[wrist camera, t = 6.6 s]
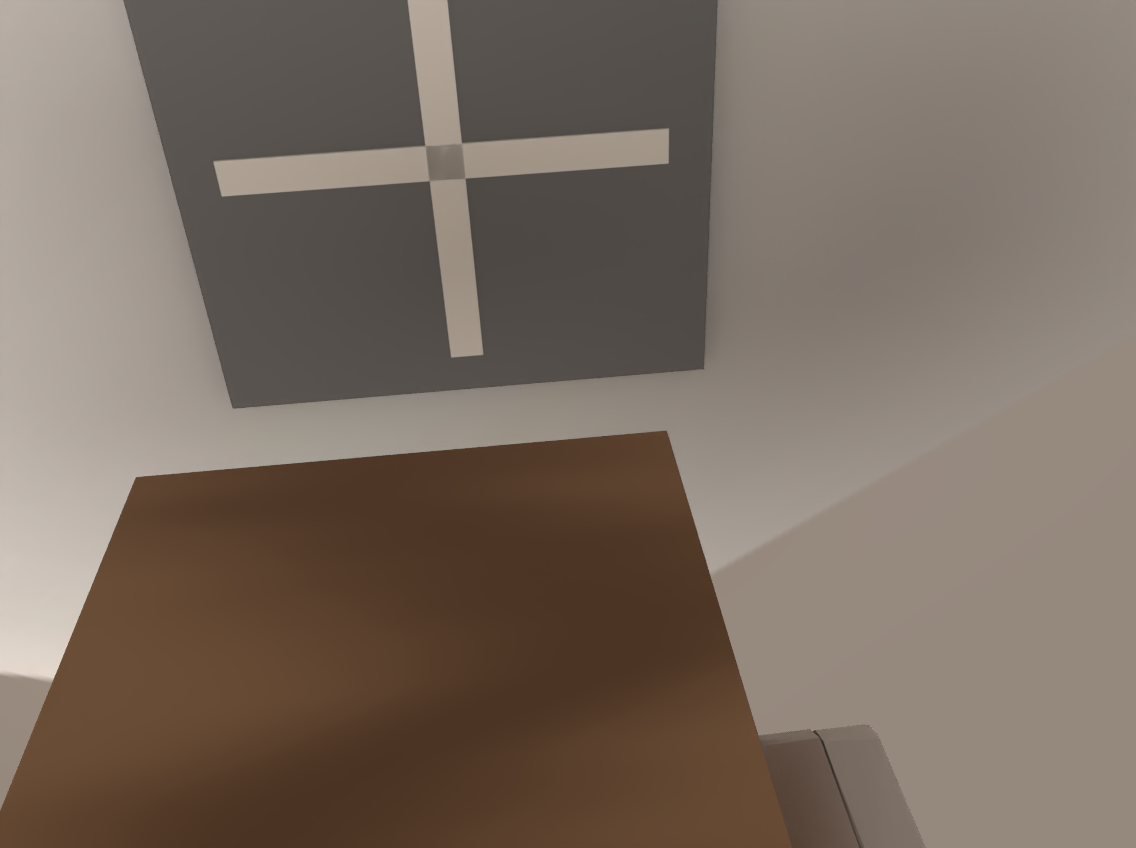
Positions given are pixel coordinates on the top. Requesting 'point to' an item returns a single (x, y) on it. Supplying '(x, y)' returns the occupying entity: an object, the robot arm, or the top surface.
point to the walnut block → (402, 664)
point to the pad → (438, 187)
